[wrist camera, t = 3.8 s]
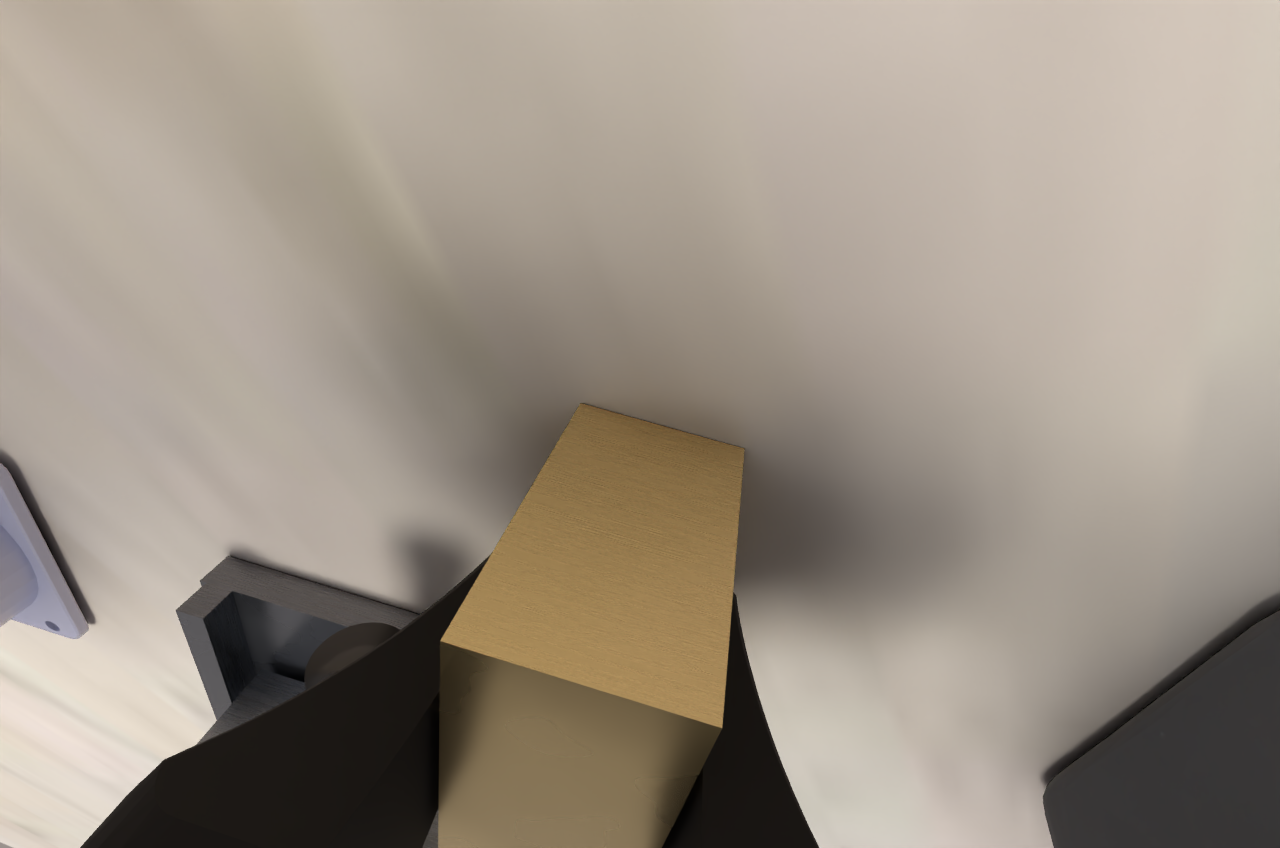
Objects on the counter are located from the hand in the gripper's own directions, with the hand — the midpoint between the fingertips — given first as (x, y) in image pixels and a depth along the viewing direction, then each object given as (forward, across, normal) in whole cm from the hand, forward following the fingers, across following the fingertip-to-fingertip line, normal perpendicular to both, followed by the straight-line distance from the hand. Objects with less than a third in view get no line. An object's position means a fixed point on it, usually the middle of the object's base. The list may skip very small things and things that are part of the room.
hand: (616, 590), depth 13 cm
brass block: (+1, 0, 0) cm, 1 cm away
